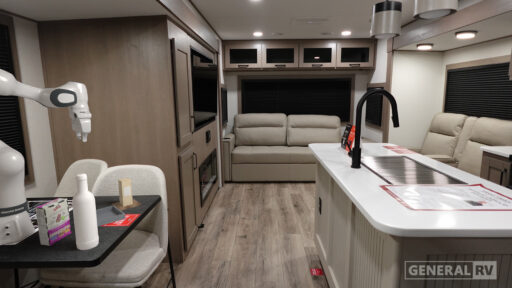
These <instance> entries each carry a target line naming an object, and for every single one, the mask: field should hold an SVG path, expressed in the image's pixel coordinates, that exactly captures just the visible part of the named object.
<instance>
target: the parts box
mask: <svg viewBox="0 0 512 288" xmlns="http://www.w3.org/2000/svg"><path fill="white" fill-rule="evenodd" d="M117 182H118V198H119V202H120V204H121V205H122V206H123V207H124V206H127V205H131V204H133V201H132V199H133V190H132V189H133V188H132V187H133V186H132V179H130V178H129V177H125V178H121V179H117Z"/></svg>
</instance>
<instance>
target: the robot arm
mask: <svg viewBox="0 0 512 288" xmlns="http://www.w3.org/2000/svg"><path fill="white" fill-rule="evenodd" d="M0 96H16V97H20V98H24V99H28V100H31V101H35V102H37V103H38V104H39V105H41V106H43V107H45V108H46V109H47V108H48V109H65V108H68V116H69V118H71V121H70V122H71V130H72V131H74V132H75V135H76V140H81V141H82V142H83V143H86V142H87V141H88V134H90V133H91V131H92V123H91V121H92V113H91V112H90V107H89V104H88V102H89V95H88V89H87V86H86V84H85V83H83V82H81V81H80V82H79V81H74V80H73V81H72V80H70V81H67V82H66V83H64V84H63V85H60V86H58V87H42V88H41V87H35V86H32V85H30V84H26V83H23V82H20V81H19V80H17V79H16V78H15V76H14V74H12V73H10V72H8V71H6V70H4V69H1V68H0ZM30 216H31V215H30V206H29V201H28V199H27V195H26V188H25V158H24V156H23V154H22V153H21V152H19V151H18V150H16V149H14V148H12V147H11V146H9V145H8V144H6V143H5V142H4V141H2V140H1V139H0V246H2V245H7V244H12V243H17V242H20V241H21V240H22V239H24V238H25V237H27V236H30V235H31V234H32V233H34V232H35V230H36V227H34V225H33V222H32V220H31V217H30Z"/></svg>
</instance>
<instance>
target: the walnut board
mask: <svg viewBox="0 0 512 288" xmlns="http://www.w3.org/2000/svg"><path fill="white" fill-rule="evenodd" d="M132 201H133V204H131V205H127V206H124V207H123V206H122V205H121V204H120V201H117V202H113V203H111V204H110V206H113V205H114V206H115V207H117V208H118V209H119V210H121V211H122V212H123V211H125V210H128V209H132V208H135V207H136V208H137V207H141V206H140V205H142V206H143V204H142V203H141V202H139V201H137V200H136V199H135V198H132Z"/></svg>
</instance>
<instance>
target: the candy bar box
mask: <svg viewBox="0 0 512 288" xmlns="http://www.w3.org/2000/svg"><path fill="white" fill-rule="evenodd" d="M34 209H35V215H36V222H37V228H38V229H37V230H38V235H39V242H40V245H41V246H48V247H50V246H52V245H54V244H56V243H58V242H59V241H61V240H62V239H63V238H66V237H67V236H69V235H70V234H72V232H73V231H72V225H71V218H70V210H69V202H68V198H61V197H58V198H56V199H55V198H54V199H53V200H51V201H49V202H46V203H44V204H43V203H42V204H41V205H38V206H37V207H35V208H34Z"/></svg>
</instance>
